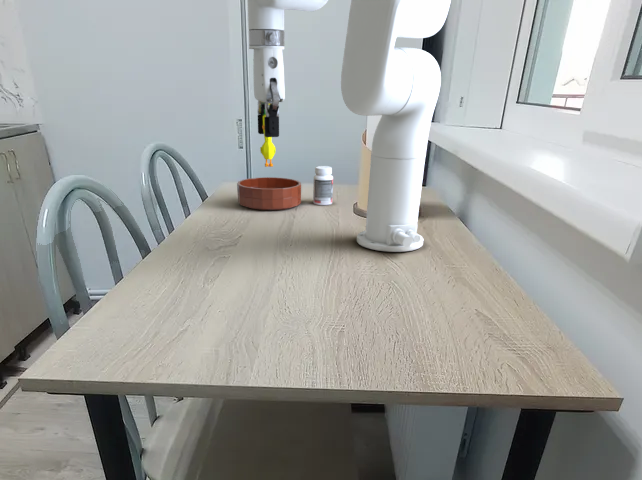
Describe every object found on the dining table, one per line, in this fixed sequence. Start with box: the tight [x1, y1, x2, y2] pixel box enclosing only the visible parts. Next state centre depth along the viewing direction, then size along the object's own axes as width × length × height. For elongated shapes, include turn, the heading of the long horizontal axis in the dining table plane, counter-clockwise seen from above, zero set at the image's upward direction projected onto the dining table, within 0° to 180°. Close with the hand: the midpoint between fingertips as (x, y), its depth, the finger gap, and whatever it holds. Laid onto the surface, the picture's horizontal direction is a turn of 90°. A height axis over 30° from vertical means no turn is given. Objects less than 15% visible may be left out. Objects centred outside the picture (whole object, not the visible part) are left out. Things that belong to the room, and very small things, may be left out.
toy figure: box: [259, 109, 277, 168], centre depth 121 cm, size 7×4×12 cm, turn 7°
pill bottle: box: [312, 165, 334, 206], centre depth 128 cm, size 5×5×8 cm
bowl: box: [236, 176, 302, 211], centre depth 127 cm, size 15×15×5 cm
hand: (268, 134), depth 121 cm, fingers closed on toy figure, 5 cm apart
